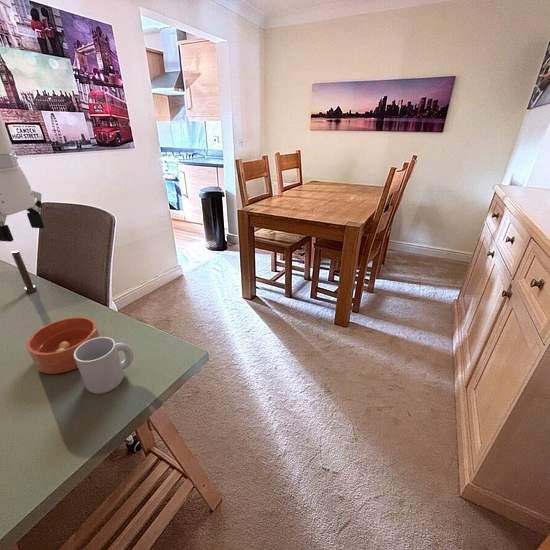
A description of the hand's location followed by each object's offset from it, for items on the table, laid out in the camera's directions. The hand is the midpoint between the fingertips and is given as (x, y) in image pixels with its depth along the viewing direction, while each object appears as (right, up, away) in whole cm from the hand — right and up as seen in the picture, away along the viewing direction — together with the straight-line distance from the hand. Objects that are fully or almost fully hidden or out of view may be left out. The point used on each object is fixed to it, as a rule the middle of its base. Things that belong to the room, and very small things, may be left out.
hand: (23, 233), depth 76 cm
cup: (+29, -33, -11) cm, 45 cm away
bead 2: (+15, -28, -8) cm, 33 cm away
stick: (-13, -15, +19) cm, 28 cm away
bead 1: (+14, -27, -5) cm, 31 cm away
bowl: (+16, -29, -5) cm, 33 cm away
